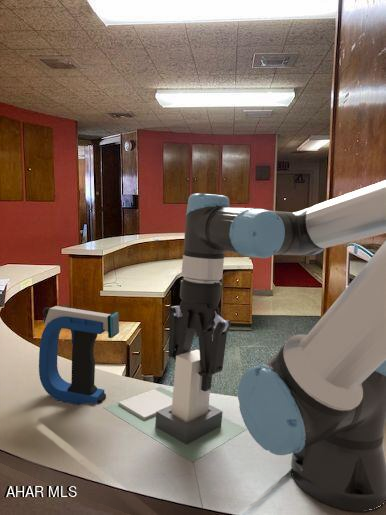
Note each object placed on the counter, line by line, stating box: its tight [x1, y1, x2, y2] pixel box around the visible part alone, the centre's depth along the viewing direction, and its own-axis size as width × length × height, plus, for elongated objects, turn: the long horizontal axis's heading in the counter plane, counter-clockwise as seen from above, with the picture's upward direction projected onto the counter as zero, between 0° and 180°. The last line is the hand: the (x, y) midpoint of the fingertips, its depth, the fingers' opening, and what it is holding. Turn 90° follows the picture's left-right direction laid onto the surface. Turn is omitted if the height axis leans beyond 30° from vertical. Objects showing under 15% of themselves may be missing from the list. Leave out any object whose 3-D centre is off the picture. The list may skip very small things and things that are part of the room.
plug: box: [171, 349, 211, 423], centre depth 78 cm, size 4×6×14 cm, turn 138°
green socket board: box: [103, 386, 248, 463], centre depth 82 cm, size 24×16×4 cm, turn 48°
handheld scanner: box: [38, 305, 120, 406], centre depth 87 cm, size 5×16×20 cm, turn 79°
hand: (191, 400), depth 79 cm, fingers closed on plug, 4 cm apart
